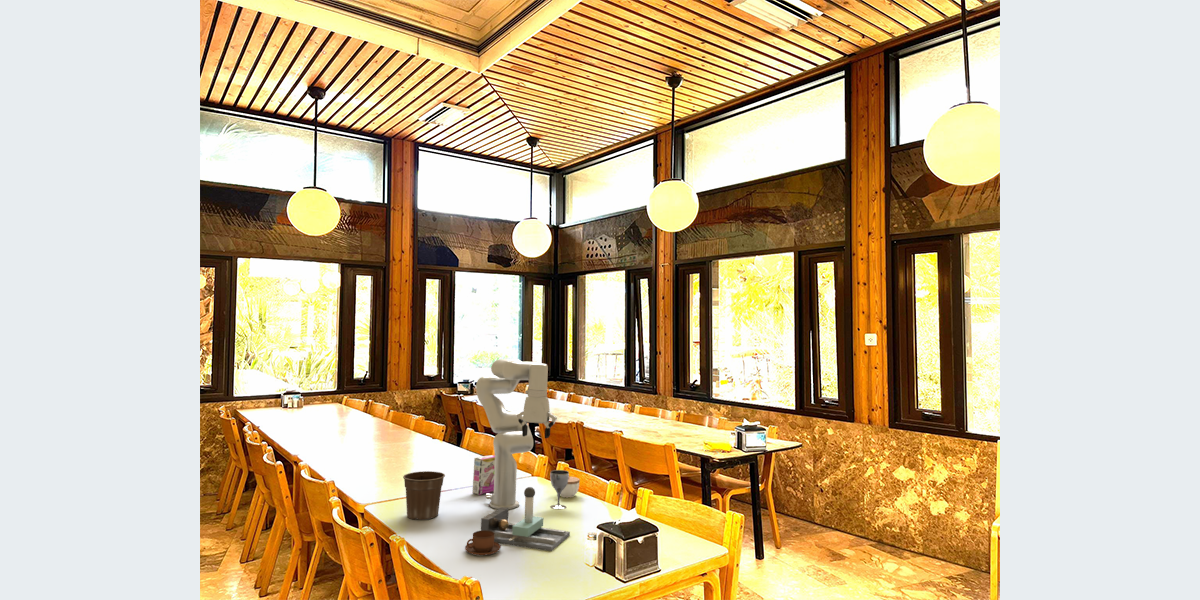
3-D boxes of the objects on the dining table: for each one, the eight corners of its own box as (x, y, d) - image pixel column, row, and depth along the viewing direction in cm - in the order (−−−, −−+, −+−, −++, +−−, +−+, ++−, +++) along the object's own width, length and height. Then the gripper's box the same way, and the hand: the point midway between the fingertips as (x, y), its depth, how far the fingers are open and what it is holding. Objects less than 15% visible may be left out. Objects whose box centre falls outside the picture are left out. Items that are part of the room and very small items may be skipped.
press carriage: (512, 534, 222) (514, 490, 222) (528, 523, 235) (530, 482, 236) (527, 536, 220) (529, 492, 221) (543, 525, 233) (544, 483, 234)
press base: (479, 540, 223) (479, 519, 224) (501, 526, 240) (502, 506, 241) (551, 551, 215) (552, 529, 215) (569, 535, 232) (570, 515, 232)
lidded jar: (583, 495, 290) (584, 475, 291) (570, 500, 281) (571, 479, 282) (564, 491, 296) (565, 471, 296) (551, 496, 287) (552, 475, 287)
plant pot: (393, 515, 250) (395, 474, 251) (428, 507, 261) (430, 469, 262) (414, 524, 239) (417, 482, 239) (450, 516, 250) (452, 476, 251)
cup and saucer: (484, 561, 204) (484, 542, 204) (457, 553, 210) (458, 534, 210) (507, 551, 214) (508, 532, 214) (481, 543, 220) (482, 526, 221)
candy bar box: (479, 495, 283) (481, 459, 284) (472, 493, 286) (473, 457, 287) (497, 491, 292) (498, 456, 293) (489, 489, 295) (491, 454, 296)
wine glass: (570, 505, 272) (571, 471, 273) (563, 510, 264) (564, 474, 265) (553, 503, 275) (554, 469, 275) (546, 508, 267) (547, 472, 268)
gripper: (514, 393, 250) (512, 436, 249) (553, 396, 245) (552, 440, 244) (521, 392, 257) (520, 433, 256) (560, 394, 252) (559, 437, 251)
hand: (535, 436), depth 250 cm, fingers open, 9 cm apart
